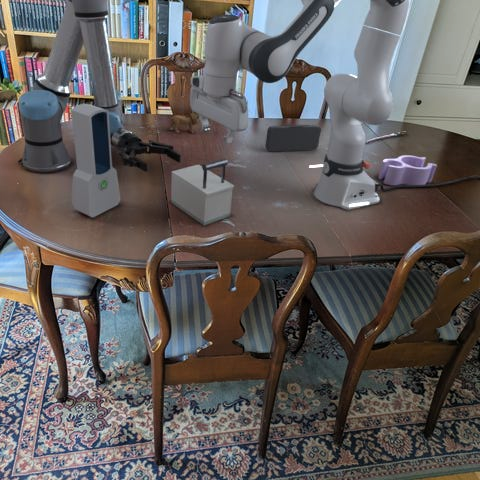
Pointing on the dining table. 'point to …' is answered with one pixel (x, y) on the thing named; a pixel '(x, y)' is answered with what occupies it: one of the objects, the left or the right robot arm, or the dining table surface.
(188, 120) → the lion figurine
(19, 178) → the dining table surface
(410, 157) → the clip
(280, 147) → the handheld gaming console
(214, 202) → the chest
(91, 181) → the electronic device
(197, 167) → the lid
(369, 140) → the sword
